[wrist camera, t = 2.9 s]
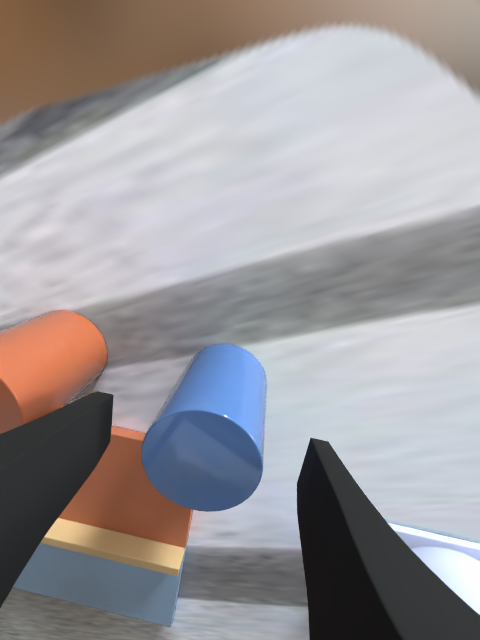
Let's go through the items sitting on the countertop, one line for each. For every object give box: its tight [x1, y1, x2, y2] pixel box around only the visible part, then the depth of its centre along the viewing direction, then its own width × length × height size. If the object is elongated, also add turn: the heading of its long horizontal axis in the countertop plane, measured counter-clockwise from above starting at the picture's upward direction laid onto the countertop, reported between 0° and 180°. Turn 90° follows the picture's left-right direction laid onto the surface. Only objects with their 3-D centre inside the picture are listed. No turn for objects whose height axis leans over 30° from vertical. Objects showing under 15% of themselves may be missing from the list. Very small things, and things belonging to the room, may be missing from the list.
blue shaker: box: [141, 344, 267, 512], centre depth 13 cm, size 4×4×6 cm
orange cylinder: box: [0, 310, 107, 434], centre depth 13 cm, size 4×4×6 cm
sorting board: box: [13, 426, 193, 627], centre depth 18 cm, size 12×14×2 cm
